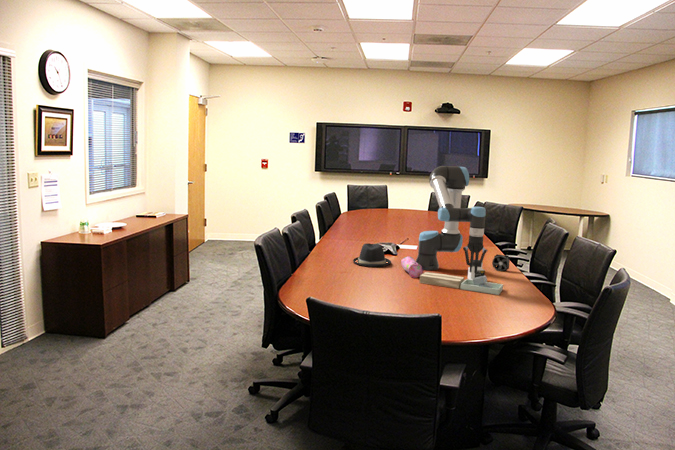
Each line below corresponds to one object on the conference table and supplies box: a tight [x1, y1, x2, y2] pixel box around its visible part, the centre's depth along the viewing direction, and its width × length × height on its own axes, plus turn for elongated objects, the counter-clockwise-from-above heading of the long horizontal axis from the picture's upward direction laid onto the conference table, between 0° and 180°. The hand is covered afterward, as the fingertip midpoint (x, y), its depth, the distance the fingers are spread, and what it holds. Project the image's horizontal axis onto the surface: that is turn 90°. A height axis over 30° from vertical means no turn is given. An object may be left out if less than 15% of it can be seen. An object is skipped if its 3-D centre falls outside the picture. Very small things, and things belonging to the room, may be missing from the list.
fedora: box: [352, 243, 392, 268], centre depth 332 cm, size 25×27×12 cm
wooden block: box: [418, 271, 465, 290], centre depth 287 cm, size 12×22×4 cm, turn 63°
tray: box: [459, 278, 504, 296], centre depth 277 cm, size 13×20×3 cm, turn 63°
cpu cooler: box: [491, 254, 511, 272], centre depth 326 cm, size 10×6×10 cm, turn 62°
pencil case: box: [400, 255, 425, 279], centre depth 307 cm, size 21×9×9 cm, turn 6°
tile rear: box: [473, 275, 488, 285], centre depth 277 cm, size 6×6×3 cm
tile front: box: [479, 282, 493, 288], centre depth 276 cm, size 6×6×3 cm
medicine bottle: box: [467, 259, 486, 280], centre depth 296 cm, size 7×7×12 cm
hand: (472, 278), depth 279 cm, fingers closed
